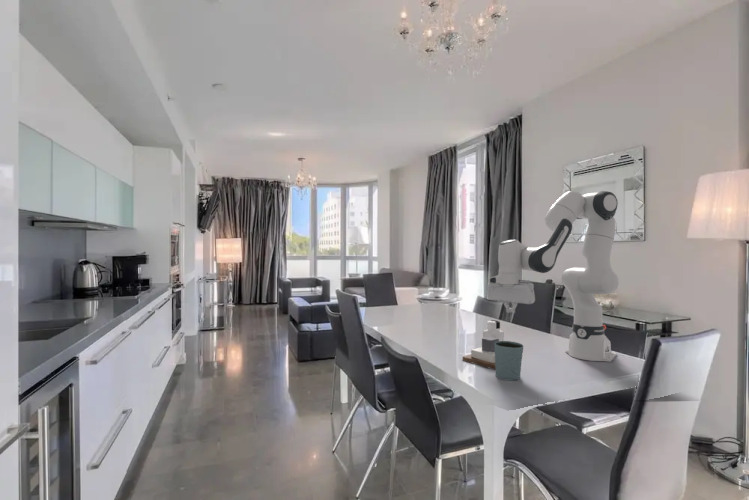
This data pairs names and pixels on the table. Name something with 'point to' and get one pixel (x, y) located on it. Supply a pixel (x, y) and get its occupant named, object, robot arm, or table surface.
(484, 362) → the mounting board
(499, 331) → the medicine bottle
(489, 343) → the plug
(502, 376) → the teal cup
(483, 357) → the socket
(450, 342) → the table surface
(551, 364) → the table surface
